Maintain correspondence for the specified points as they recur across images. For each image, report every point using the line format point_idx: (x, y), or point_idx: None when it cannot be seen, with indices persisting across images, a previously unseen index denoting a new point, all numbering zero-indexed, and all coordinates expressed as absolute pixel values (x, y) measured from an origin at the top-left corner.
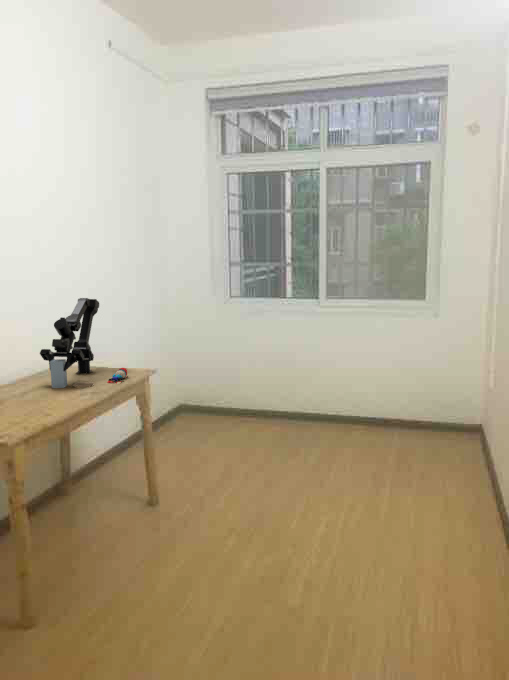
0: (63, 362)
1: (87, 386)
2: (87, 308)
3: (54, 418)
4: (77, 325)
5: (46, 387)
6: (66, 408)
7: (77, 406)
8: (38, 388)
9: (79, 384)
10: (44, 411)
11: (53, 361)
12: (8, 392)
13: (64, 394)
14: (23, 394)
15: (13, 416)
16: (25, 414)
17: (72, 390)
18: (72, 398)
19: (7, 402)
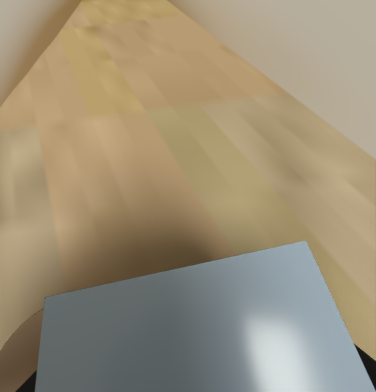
0: (62, 344)
1: (24, 324)
2: None
3: (73, 19)
4: None
5: None
6: (63, 62)
7: (36, 77)
8: None
9: None
10: (111, 41)
11: (240, 263)
12: (369, 166)
13: (112, 173)
14: (279, 150)
15: (166, 14)
16: (146, 24)
17: (97, 238)
18: (67, 134)
19: (258, 75)
